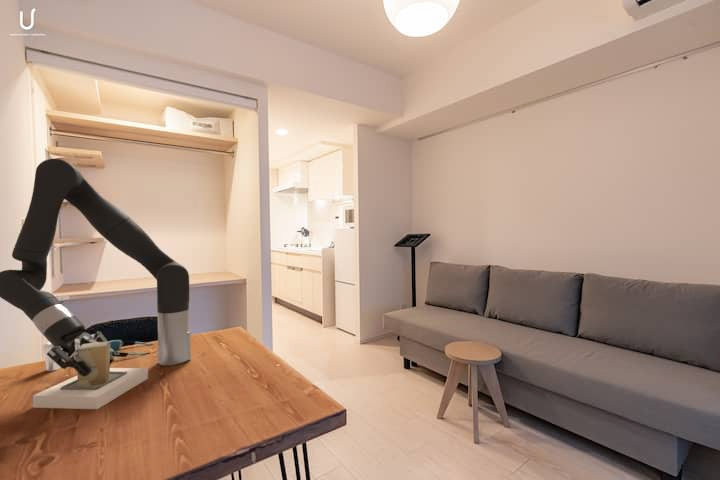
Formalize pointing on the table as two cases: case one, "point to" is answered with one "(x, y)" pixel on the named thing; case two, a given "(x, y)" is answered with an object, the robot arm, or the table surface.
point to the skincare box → (95, 363)
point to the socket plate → (90, 390)
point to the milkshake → (49, 362)
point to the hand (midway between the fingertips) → (100, 368)
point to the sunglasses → (116, 346)
